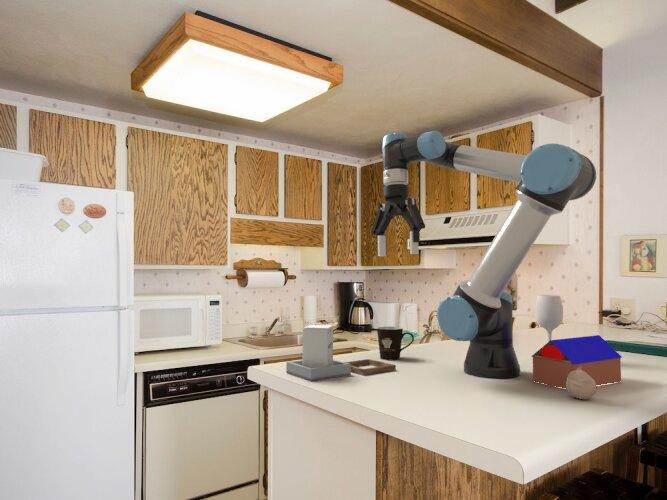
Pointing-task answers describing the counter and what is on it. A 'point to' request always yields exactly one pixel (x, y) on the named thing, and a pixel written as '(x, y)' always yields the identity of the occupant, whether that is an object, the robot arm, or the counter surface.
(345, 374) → the grey tray
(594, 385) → the garlic bulb
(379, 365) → the walnut collar
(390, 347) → the coffee mug
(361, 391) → the counter surface
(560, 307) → the wineglass
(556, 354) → the house
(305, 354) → the supplement box
